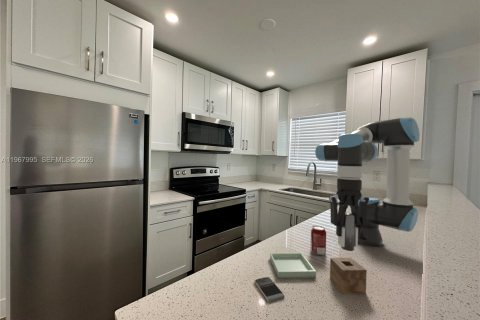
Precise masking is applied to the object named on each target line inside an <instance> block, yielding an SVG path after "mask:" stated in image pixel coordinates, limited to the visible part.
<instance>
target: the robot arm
mask: <svg viewBox="0 0 480 320" xmlns="http://www.w3.org/2000/svg"><path fill="white" fill-rule="evenodd" d="M419 141H420V129H419V124H418V123H417V121H416V119H415V118H413V117H398V118H392V119H386V120H385V119H383V120H377V121H372V122H370V123H367V124H365V125H362V126H360V127H358V128H355V130H354V131H353V132H352V133H351V132H350V133H343V134H340V135H339V136H338V139H336V140H333V141H331V142H329V143H321V144H320V143H319V144H318V145H316V147H315V150H314V153H315V158H316V159H317V160H318V161H325V162H337V167H336V168H337V169H336V170H337V171H336V172H337V176H336V177H338V178H336V189H337V191H336V193H335V194H334V195H329V196H328V200H329V202H330V205H329V207H330V223H331V224H332V225H334V227H336V228H335V234H336V236H337V244H338V245H339V246H340V247H341V246H342V247H345V228H344V227H343V223H344V218H345V214H346V213H347V209H348V208H350V213H352V214H355V237H354V248H358V246H359V244H360V245H363V246H369V247H380V246H383V238H382V234H381V231H380V226H382V227H386V228H390V229H395V230H396V231H397V230H398V231H403V232H407V233H408V232H409V233H410V232H411V231H413V230H414V229H415V227H416V225H417V222H418V218H419V209H418V208H416V207H414V202H412V200H411V199H410V163H411V162H410V161H411V149H412V148H413V147H415V143H417V142H419ZM375 144H383V147H384V148H385V150H387V151H386V154H387V155H386V197H385V198H384V199H382V202H381V201H380V199H379V198H374V197H373V198H372V197H368V196H364V195H363V194H362V193H361V191H362V189H363V187H362V186H363V184H362V178H363V162H365V163H368V162H372V161H373V160H375V159H376V158H377V157H378V155H379V149H378V147H377V146H376V145H375ZM338 200H339V201H338Z"/></svg>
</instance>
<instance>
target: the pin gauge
mask: <svg viewBox="0 0 480 320" xmlns="http://www.w3.org/2000/svg"><path fill="white" fill-rule="evenodd" d="M343 227H344V228H345V247H342V246H340V247H341V249H343V250H345V251H349V252H353V251H355V246H354V237H355V214H352V213H351V212H346V214H345V218H344V223H343Z"/></svg>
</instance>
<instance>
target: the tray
mask: <svg viewBox="0 0 480 320" xmlns="http://www.w3.org/2000/svg"><path fill="white" fill-rule="evenodd" d="M269 260H270V263H271V265H272V267H273V270H274V271H275V274H276V276H277V278H278V279H279V280H280V279H316V278H317V270H316V269H315V268H314V266H312V264H311V262H309V260H308V259H307V258H306V257H305V255H304V254H303V252H270V253H269Z"/></svg>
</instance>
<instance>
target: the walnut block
mask: <svg viewBox="0 0 480 320" xmlns="http://www.w3.org/2000/svg"><path fill="white" fill-rule="evenodd" d="M329 281H331V283H332V284H333V285H334V286H335V287H336V289H338V291H339V292H340V293H341V294H342V295H364V294H366V295H367V269H366V268H365V267H364V266H362V265H361V264H360V263H359V262H357V261H356V260H355V259H354V258H352V257H330V261H329Z"/></svg>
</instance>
